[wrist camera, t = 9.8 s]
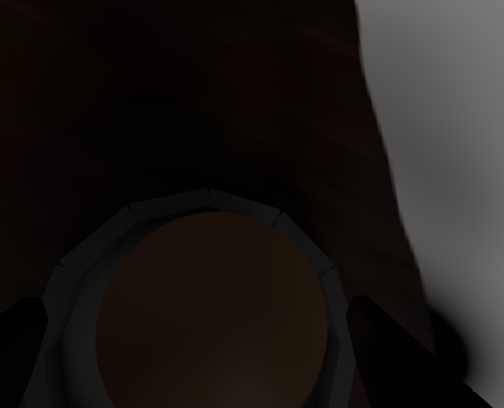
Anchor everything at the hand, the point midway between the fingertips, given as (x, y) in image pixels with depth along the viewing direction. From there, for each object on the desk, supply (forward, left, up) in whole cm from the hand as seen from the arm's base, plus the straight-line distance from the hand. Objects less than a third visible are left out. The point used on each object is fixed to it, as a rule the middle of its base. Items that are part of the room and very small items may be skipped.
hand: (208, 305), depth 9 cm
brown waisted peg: (0, 0, -8) cm, 8 cm away
